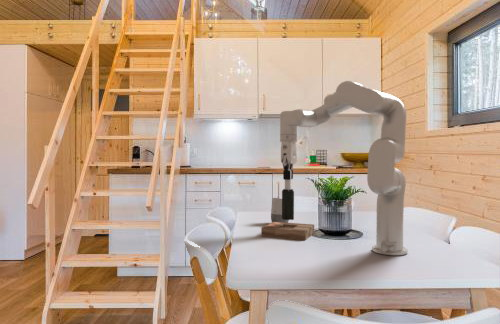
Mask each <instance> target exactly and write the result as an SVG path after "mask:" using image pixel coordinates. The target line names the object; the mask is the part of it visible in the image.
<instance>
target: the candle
mask: <svg viewBox="0 0 500 324" xmlns="http://www.w3.org/2000/svg"><path fill="white" fill-rule="evenodd" d="M290 171H291V170H290ZM281 199H282V219H283V220H289V221H293V220H294V219H295V191H294V189H292V179H291V178H290V180H284V188H283V189H282V190H281Z"/></svg>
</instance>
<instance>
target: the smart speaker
mask: <svg viewBox="0 0 500 324" xmlns="http://www.w3.org/2000/svg"><path fill="white" fill-rule="evenodd" d="M270 220H271V223H272V222H286V223H289V221H290V220H283V219H282V198H280V197H279V198H278V197H272V199H271V210H270Z"/></svg>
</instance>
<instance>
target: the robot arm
mask: <svg viewBox="0 0 500 324" xmlns="http://www.w3.org/2000/svg"><path fill="white" fill-rule="evenodd" d="M352 108H354V109H357V110H359V111H362V112H365V113H367V114H369V115H376V116H381V117H382V118H383V120H382V124H381V129H380V130H381V131H380V138H378V139H376V140H374V141H373V142H372V143H371V146H370V148H369V151H368V159H367V160H368V161H367V174H366V175H367V186H368V188H369V190H370V191H371V192H372V193H374V194H376V195H377V198H376V220H375V221H376V226H375V227H376V232H375V233H376V235H375V237H376V239H375V241H376V243H375V245H373V246H372V247H371V251H372V252H374V253H376V254H380V255H385V256H405V255H407V254H408V248H406V247H404V209H405V207H404V205H405V203H404V202H405V192H406V177H405V175H404V173H403V171H401V170H400V169H398V168H396V167H395V165H396V164H398V163H400V162H401V161H402V160H403V158H404V157H405V149H406V147H405V146H406V127H407V126H406V125H407V110H406V105H404V103H403V102H402V101H401V100H400V99H399V98H397V97H396V96H393V95H392V94H389V93H386V92H382V91H379V90H375V89H372V88H369V87H366V86H364V85H362V84H361V83H358V82H356V81H352V80H344V81H343V82H341V83H340V84H338V86H337V87H336V89H335V92H332V93H330V94H328V95H326V96H325V97H324V99H323V104H322V105H321V106H319V107H317V108H315V109H312V110H309V109H302V108H298V109H293V110H285V111H284V110H283V111H281V112H280V114H279V116H280V117H279V118H280V120H279V121H280V122H279V142H280V143H281V145H280V146H281V147H280V162H281V164H282V167H283V168H282V170H283V173H282V175H283V177H282V178H283V179H282V180H284V181H285V180H290V178H291V180H293V179H294V164H297V161H298V160H297V157H298V156H297V155H298V154H297V140H298V138H297V137H298V135H297V133H298V127H299V128H300V127H301V128H314V127H315V128H316V127H318V126H319V125H322V124H325V123H327V122H328V121H330V120H331V119H332V118H333V117H334V116H336V115H338V114H340V113H342V112H344V111H347V110H350V109H352ZM290 170H291V171H290Z"/></svg>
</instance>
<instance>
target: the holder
mask: <svg viewBox="0 0 500 324" xmlns="http://www.w3.org/2000/svg"><path fill="white" fill-rule="evenodd" d="M260 229H261V232H260V233H261V234H260V235H261V237H265V238H274V239H275V238H276V239H287V240H298V241H306V240H308V239H309V238H310V237H312V234H313V233H314V234H315V224H311V223H299V222H288V223H286V222H272V221H271V222H270V223H267V224H265V225H263V226H261V227H260ZM314 234H313V235H314Z"/></svg>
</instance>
